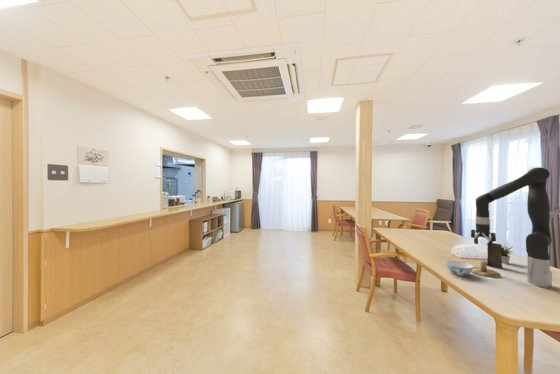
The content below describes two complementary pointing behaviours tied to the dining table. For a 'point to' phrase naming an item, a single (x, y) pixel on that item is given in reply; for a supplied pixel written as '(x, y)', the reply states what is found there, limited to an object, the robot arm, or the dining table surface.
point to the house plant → (505, 255)
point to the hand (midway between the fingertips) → (483, 245)
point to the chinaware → (459, 267)
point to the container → (494, 256)
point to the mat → (492, 278)
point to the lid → (485, 271)
